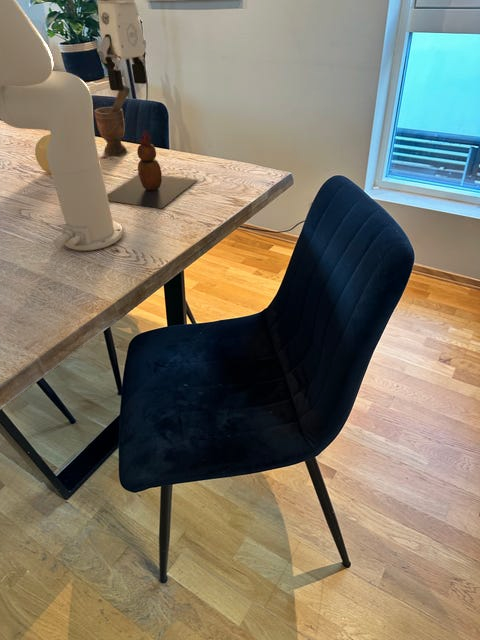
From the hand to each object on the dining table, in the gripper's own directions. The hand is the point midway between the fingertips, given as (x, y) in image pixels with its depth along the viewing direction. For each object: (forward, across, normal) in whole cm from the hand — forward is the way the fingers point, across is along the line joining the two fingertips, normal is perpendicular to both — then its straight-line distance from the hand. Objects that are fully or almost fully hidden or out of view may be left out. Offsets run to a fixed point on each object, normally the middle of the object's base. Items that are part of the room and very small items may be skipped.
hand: (129, 86), depth 100 cm
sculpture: (+25, +5, +32) cm, 40 cm away
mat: (+25, 0, -2) cm, 25 cm away
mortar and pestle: (+24, +26, +25) cm, 43 cm away
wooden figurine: (+24, +1, -2) cm, 25 cm away
